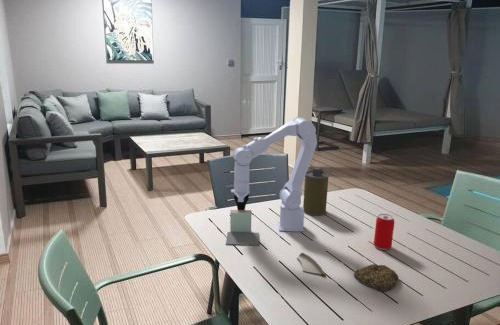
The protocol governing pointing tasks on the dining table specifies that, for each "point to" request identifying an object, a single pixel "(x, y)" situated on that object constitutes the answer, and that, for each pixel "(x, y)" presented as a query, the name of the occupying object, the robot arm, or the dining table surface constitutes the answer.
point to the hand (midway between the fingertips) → (241, 213)
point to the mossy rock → (377, 277)
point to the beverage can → (384, 231)
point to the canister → (315, 192)
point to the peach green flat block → (240, 220)
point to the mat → (242, 238)
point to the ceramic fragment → (310, 265)
